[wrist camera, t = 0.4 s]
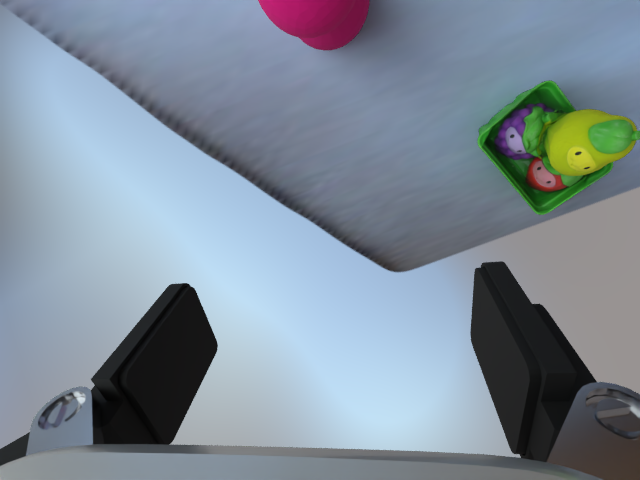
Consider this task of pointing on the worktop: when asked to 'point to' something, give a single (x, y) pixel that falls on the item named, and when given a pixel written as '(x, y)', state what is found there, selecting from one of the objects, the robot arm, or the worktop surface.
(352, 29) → the pepper mill
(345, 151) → the worktop surface
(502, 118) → the fruit basket
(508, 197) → the worktop surface
